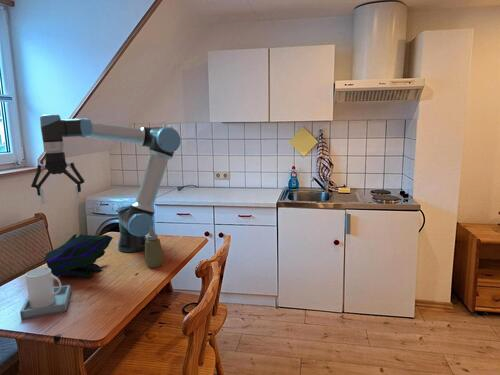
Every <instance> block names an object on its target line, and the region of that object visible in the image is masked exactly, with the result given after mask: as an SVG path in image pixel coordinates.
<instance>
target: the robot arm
mask: <svg viewBox="0 0 500 375" xmlns="http://www.w3.org/2000/svg"><path fill="white" fill-rule="evenodd" d="M39 124H40V130H41V137H42V138H41V139H42V145H43V152H45V153H44V159H45V160H44V161H45V164H40V163H39V164H37V168H36V173H35V175H34V178H33V179H32V183H31V185H30V186H31V188H35V189H36V194H37V196H38V197H40V200H41V205H43V204H45V202H46V201H45V195H44V188H43V187H42V185H43V184H44V183H45V182H46V181H47V179H48V178H49V177H50V175H61V174H64V175H65V176H67V178H68V179H70V180H72V181H73V182H74V184H75V185H74V188H75V196H76V201H80V193H81V191H82V188H81V186H82V184H84V183H85V179H84V178H83V176H82V175H81V173H80V172H79V171H78V169H77V167H76V166H75V162H74V161H72V162H68V163H67V161H66V154H65V153H66V152H65V146H64V138H70V137H71V138H73V137H74V138H76V137H77V138H79V137H81V138H89V139H97V140H107V141H115V142H123V143H131V144H132V143H133V144H138V145H139V146H140V147H147V148H148V152H149V153H150V154H149V155H150V156H149V159H148V162H147V165H146V167H145V171H144V174H143V177H142V180H141V182H140V186H139V189H138V193H137V196H136V199H135V202H133V203H126V204H121V205H119V206H118V207H117V216H118V225H119V237H118V238H119V240H118V243H117V250H118V252H121V253H135V252H136V253H137V252H140V251H143V250H145V241H146V240H147V235H149V232H150V227H153V228H154V225H155V223H154V222H155V221H154V219H153V218H154V216H155V215H154V214H155V209H154V204H155V201H156V198H157V195H158V192H159V190H160V189H159V188H160V186H161V183H162V180H163V177H164V174H165V171H166V169H167V168H166V167H167V164H168V162H169V160H172V159H173V158H174V157H173V156H174V153H175V151H177V150H178V149H179V147H180V146H181V136H180V133H179V132H178V131H177V130H176V129H175V128H173V127H170V126H155V127H148V126H141V127H140V128H138V127H134V126H133V127H131V126H124V125H117V124H110V123H102V122H94V121H92V120H91V119H90V118H67V119H64V118H61V116H60V115H59V114H42V115H41V116H40V117H39ZM67 167H69V168H70V169H71V170H72V171H73V173H74V174H75V176H76V177H77V178H78V179H77V178H76V177H75V176H74V175H73V174H72V173H70V172H69V170H67ZM44 169H46V170H47V172H46V173H45V174H44V175H43V177H42V179H41V180H40V181H39V182H38V180H39V177H40V176H41V173H42V170H44ZM37 183H38V184H37Z"/></svg>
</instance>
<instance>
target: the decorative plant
mask: <svg viewBox="0 0 500 375" xmlns="http://www.w3.org/2000/svg"><path fill="white" fill-rule="evenodd" d="M77 235H78V233H77V234H73V235H72V236H71V237H70V238H69V239H68V240H67V241H66V242H65V243H63V244H62V245H60V246H59V247H56V248H54V249H52V250H50V251H48V252H47V253H46V254H45V255H44V262H46V266H47V268H50V269H51V274H52V275H54V276H56V277H57V278H59V277H62V276H64V275H69V276H70V275H71V276H77V277H78V276H79V277H82V278H88V279H92V278H93V277H94V274H93V275H91V274H90V272H94V271H97V272H100V271H101V270H103V268H104V267H102V266H100V265H98V264H97V263H96V261H97V260H98V259H100V258H102V257H103V256H104V255H105V254H106V251H105V250H106V249H107V248H108V247H109V244H110V243H111V242H112V240H113V238H114V237H112V236H110V235H108V234H102V235H90V234H84V233H80V234H79V235H78V236H77Z"/></svg>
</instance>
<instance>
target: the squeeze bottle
mask: <svg viewBox="0 0 500 375" xmlns="http://www.w3.org/2000/svg"><path fill="white" fill-rule="evenodd" d="M146 238H147V240H146V241H145V249H144V260H145V263H146V266H147V267H148V268H151V269H153V268H158V267H161V266H162V264H163V260H164V254H163V250H162V249H163V248H162V244H161V239H160V238H158V234H157V233H155V230H154V226H153V227H150V232H149V234H147V235H146Z"/></svg>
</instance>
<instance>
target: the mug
mask: <svg viewBox="0 0 500 375" xmlns="http://www.w3.org/2000/svg"><path fill="white" fill-rule="evenodd" d="M24 275H25V282H26V287H27V288H26V289H27V297H28V296H29V307H30V308H33V309H34V308H39V307H45V306H49V305H51V304H53V303H54V302H55V301H56V298H55V295H57V294H58V293H59V292H60V290H61V286H62V283H61V282H62V281H61V280H60V279H59V277H56V276H54V275H53V274H52V273H51V269H50V268H48V267H37V268H34V269H32V270H29V271H27V272H26V273H25V274H24ZM53 279H55V281H57V283H58V287H59V286H60V287H59V290H58V291H57V292H55V293H54V288H53V287H54V282H53Z"/></svg>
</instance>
